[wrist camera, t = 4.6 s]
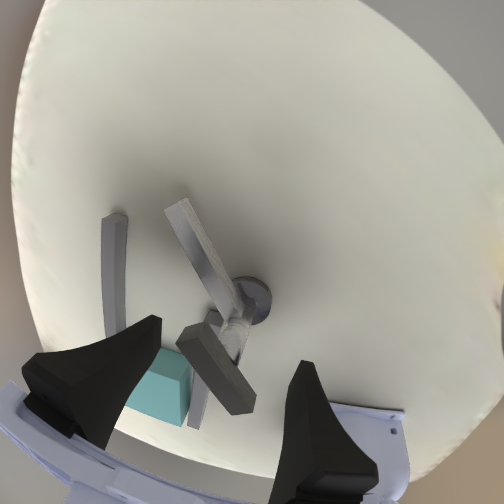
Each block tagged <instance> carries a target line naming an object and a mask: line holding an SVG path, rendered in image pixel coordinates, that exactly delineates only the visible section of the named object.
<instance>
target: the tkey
mask: <svg viewBox="0 0 504 504" xmlns="http://www.w3.org/2000/svg"><path fill="white" fill-rule="evenodd" d="M163 211H164V213H165V215H166V217H167V219H168V220H169V222H170V224H171V226H172V228H173V230H174V232H175V234H176V236H177V238H178V239H179V241H180V243H181V245H182V247H183V249H184V250H185V252H186V254H187V256H188V258H189V260H190V261H191V263H192V265H193V267H194V269H195V270H196V272H197V274H198V276H199V278H200V279H201V281H202V283H203V285H204V286H205V288H206V290H207V292H208V293H209V295H210V297H211V298H212V300H213V302H214V304H215V305H216V307H217V309H218V310H219V312H220V314H221V315H222V317H223V319H224V320H225V325H224V327H223V329H222V331H221V334H220V336H219V338H218V337H217V336H216V334H215V332H214V331H213V329H212V328H211V326H210V325H209V323H208V321H205V322H201V323H198V324H194V325H191V326H188V327H185V329H184V330H183V332H182V333H181V335H180V336H179V338H178V340H177V341H176V345H177V346H178V348H179V349H180V350H181V352H182V353H183V355H184V356H185V357H186V359H187V360H188V361H189V363H190V364H191V366H192V367H193V368H194V370H195V371H196V372H197V374H198V375H199V376H200V377H201V379H202V380H203V381H204V383H205V384H206V385H207V386H208V388H209V389H210V390H211V391H212V393H213V394H214V395H215V396H216V398H217V399H218V400H219V401H220V403H221V404H222V405H223V406H224V407H225V409H226V410H227V411H228V412H229V413H230V414H231V415H240V414H247V413H253V410H254V405H255V401H256V396H257V395H256V393H255V392H254V391H253V389H252V388H251V386H250V385H249V384H248V382H247V381H246V379H245V378H244V376H243V375H242V373H241V372H240V370H239V369H238V365H239V361H240V358H241V355H242V352H243V349H244V345H245V342H246V339H247V336H248V332H249V329H250V326H251V323H252V319H253V316H254V313H255V310H256V304H255V302H254V300H253V299H251V298H250V297H247V296H241V297H240V296H239V294H238V292H237V290H236V288H235V287H234V285H233V283H232V281H231V279H230V277H229V276H228V274H227V272H226V270H225V268H224V266H223V264H222V263H221V261H220V259H219V257H218V255H217V253H216V251H215V249H214V247H213V246H212V244H211V242H210V240H209V238H208V236H207V234H206V232H205V230H204V228H203V226H202V224H201V223H200V221H199V219H198V217H197V215H196V213H195V211H194V209H193V207H192V205H191V203H190V201H189V199H188V197H187V198H185V199H183V200H180V201H178V202H177V203H175V204H173V205H171V206H169V207H168V208H166V209H164V210H163Z"/></svg>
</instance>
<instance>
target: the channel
mask: <svg viewBox="0 0 504 504" xmlns="http://www.w3.org/2000/svg"><path fill="white" fill-rule="evenodd" d="M127 223H128V217H126V216H123V215H119V214H116V213H114V214H111V215H109V216H107V217H105V218H102V228H101V278H102V300H103V314H104V325H105V335H106V338H108V337H110V336H113V335H115V334H117V333H119V332H121V331H123V330H125V329H126V325H125V257H126V237H127ZM205 321H208V323H209V325H210V326H211V328H212V329H213V331H214V332H215V334H216V336H217V337H218V338H219V336H220V334H221V331H222V329H223V327H224V324H225V320H224V319H223V317H222V315H221V314H220V313H218V312H215V311H212V310H210V311H209V313H208V315H207V317H206V318H205V320H204V322H205ZM208 393H209V388H208V386H207V385H206V384H205V383H204V381H203V380H202V379H201V377H200V376H199V375H198V374H197V372H196V371H195V376H194V382H193V388H192V395H191V401H190V408H189V415H188V422H187V426H189V427H192V428H195V429H198V430H199V427H200V425H201V422H202V419H203V415H204V411H205V407H206V402H207V398H208Z"/></svg>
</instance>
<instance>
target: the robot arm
mask: <svg viewBox="0 0 504 504" xmlns="http://www.w3.org/2000/svg"><path fill="white" fill-rule="evenodd" d="M161 331H162V318H160V317H157V316H154V315H150V316H148V317H146V318H144V319H142V320H141V321H139V322H137V323H135V324H134V325H132V326H130V327H128V328H126V329H125V330H123V331H121V332H119V333H117V334H115V335H113V336H110V337H108V338H106V339H104V340H101V341H99V342H96V343H93V344H90V345H87V346H83V347H79V348H75V349H71V350H65V351H58V352H46V353H36V354H35V355H34V356H33V357H32V358H31V359H30V360H29V361H28V362H27V363H25V365H24V366H22V374H23V377H24V379H25V381H26V383H27V385H28V387H29V389H30V391H31V392H30V394H29V395H27V394H26V393H25V392H24V391H23V390H22V389H21V388H20V387H19V386H18V385H16V384H15V383H14V382H13V381H12V380H9V381H8V382H7V383H6V384H5V385H4V387H3V388H2V389H1V390H0V428H1V430H2V431H3V432H4V433H5V434H6V435H7V436H8V437H9V438H10V439H11V440H12V441H13V442H14V443H15V444H17V445H18V446H19V447H20V448H21V449H22V450H23V451H24V452H25V453H27V454H28V455H29V456H30V457H31V458H33V459H34V460H35V461H36V462H38V464H40V465H41V466H42V467H43V468H45V469H46V470H47V471H49V472H50V473H51V474H52V475H54V476H55V477H57V478H58V479H59V480H61V481H62V482H64V483H65V484H66V485H68V486H69V487H71V490H70V491H69V493H68V495H67V496H66V498H65V500H64V501H63V503H62V504H254V503H249V502H244V501H239V500H235V499H230V498H226V497H222V496H218V495H214V494H211V493H207V492H203V491H200V490H197V489H194V488H191V487H187V486H184V485H181V484H179V483H176V482H173V481H170V480H168V479H165V478H162V477H160V476H157V475H155V474H152V473H150V472H147V471H145V470H143V469H140V468H138V467H136V466H134V465H132V464H130V463H127V462H125V461H123V460H121V459H119V458H117V457H115V456H113V455H111V454H109V453H108V452H106V451H105V448H106V446H107V443H108V440H109V438H110V435H111V433H112V431H113V429H114V426H115V424H116V422H117V420H118V418H119V416H120V414H121V412H122V410H123V408H124V406H125V404H126V402H127V400H128V398H129V396H130V395H131V393H132V392H133V390H134V389H135V387H136V386H137V384H138V383H139V382H140V380H141V379H142V377H143V376H144V375H145V373H146V372H147V370H148V369H149V367H150V366H151V365H152V363H153V361H154V360H155V358H156V356H157V354H158V352H159V350H160V348H161ZM405 416H406V415H405V412H401V411H389V410H380V409H371V408H363V407H356V406H349V405H343V404H336V403H331V402H328V399H327V397H326V395H325V393H324V390H323V388H322V385H321V383H320V380H319V377H318V375H317V372H316V369H315V366H314V363H313V362H309V361H304V360H301V362H300V364H299V366H298V368H297V370H296V372H295V374H294V376H293V378H292V380H291V382H290V384H289V387H288V393H287V398H286V404H285V420H284V435H283V445H282V450H281V455H280V460H279V465H278V469H277V473H276V477H275V481H274V485H273V489H272V492H271V495H270V499H269V502H268V504H399V503H397V502H396V501H397V500H398V499H399V498H400V497H401V496H402V495H403V493H404V492H405V490H406V488H407V485H408V482H409V477H410V463H409V458H408V452H407V447H406V441H405V436H404V432H403V427H402V422H401V421H402V420H403V419H404V418H405Z"/></svg>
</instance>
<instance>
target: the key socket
mask: <svg viewBox="0 0 504 504" xmlns="http://www.w3.org/2000/svg"><path fill="white" fill-rule="evenodd" d="M232 283H233V285H234V287H235V288H236V290H237V292H238V294H239V296H240V297H241V296H247V297H250V298H251V299H253V300H254V302H255V304H256V310H255V313H254V316H253V319H252V323H251V325H256V324H258V323H261V322H262V321H264V320H265V319H266V318H267V316H268V315H269V312H270V308H271V304H272V296H271V293H270V291H269V289H268V287H267V286H266V285H265V284H264V283H263V282H261V281H260V280H258V279H255V278H252V277H239V278H236V279H234V280H232Z"/></svg>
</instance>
